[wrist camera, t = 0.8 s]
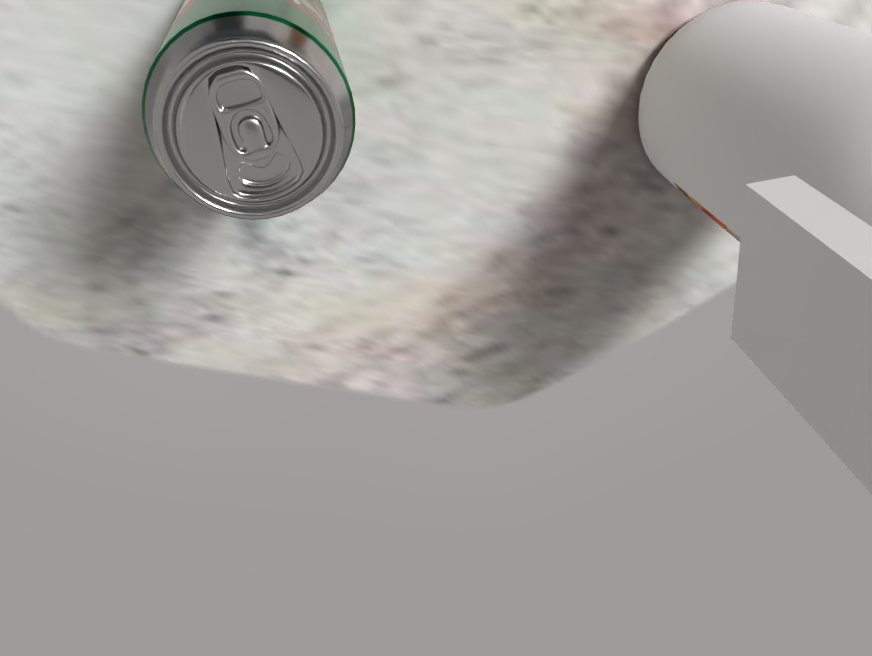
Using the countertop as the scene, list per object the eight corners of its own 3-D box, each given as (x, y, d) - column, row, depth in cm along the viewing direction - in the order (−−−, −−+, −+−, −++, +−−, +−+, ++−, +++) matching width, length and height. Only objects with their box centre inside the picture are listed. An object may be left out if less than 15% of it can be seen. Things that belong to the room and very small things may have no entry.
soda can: (213, 117, 30) (186, 258, 20) (159, -25, 28) (96, 55, 17) (344, 81, 30) (383, 202, 20) (303, -65, 28) (323, -8, 18)
